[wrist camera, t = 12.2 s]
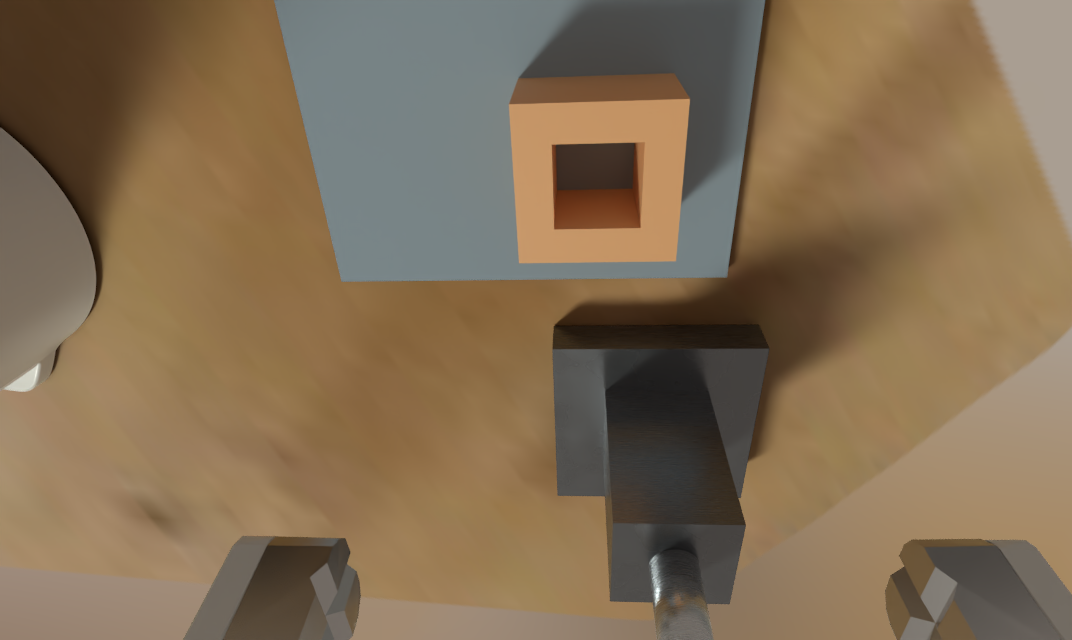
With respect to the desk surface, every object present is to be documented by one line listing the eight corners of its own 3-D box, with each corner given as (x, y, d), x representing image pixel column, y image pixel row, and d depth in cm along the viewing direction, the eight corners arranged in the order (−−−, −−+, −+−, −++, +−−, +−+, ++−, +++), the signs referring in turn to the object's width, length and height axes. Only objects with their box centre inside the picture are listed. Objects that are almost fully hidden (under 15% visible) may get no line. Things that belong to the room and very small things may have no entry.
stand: (558, 469, 37) (549, 743, 25) (553, 326, 31) (539, 587, 19) (732, 470, 36) (812, 754, 24) (758, 324, 31) (879, 595, 18)
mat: (345, 275, 30) (341, 281, 30) (280, -2, 24) (274, 0, 23) (724, 271, 29) (726, 277, 29) (763, -23, 23) (767, -22, 22)
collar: (526, 221, 28) (519, 263, 24) (518, 78, 24) (508, 104, 21) (663, 218, 27) (675, 261, 24) (674, 73, 24) (689, 98, 21)
